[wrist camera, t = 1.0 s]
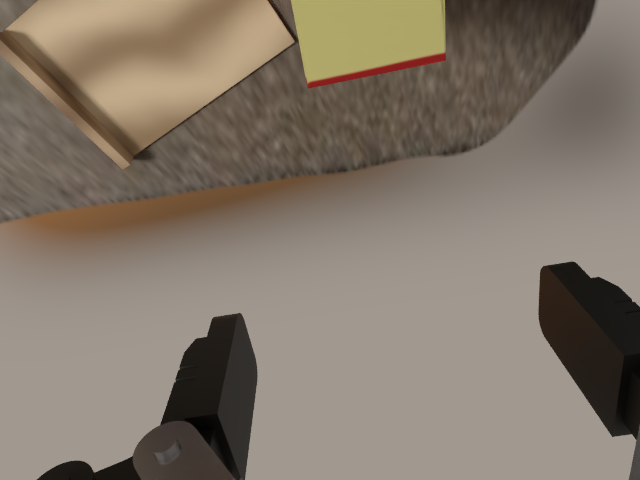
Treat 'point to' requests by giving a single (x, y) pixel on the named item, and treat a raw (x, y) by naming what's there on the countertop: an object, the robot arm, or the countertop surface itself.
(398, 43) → the baking soda box
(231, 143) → the countertop surface
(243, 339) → the robot arm
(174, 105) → the wooden board
